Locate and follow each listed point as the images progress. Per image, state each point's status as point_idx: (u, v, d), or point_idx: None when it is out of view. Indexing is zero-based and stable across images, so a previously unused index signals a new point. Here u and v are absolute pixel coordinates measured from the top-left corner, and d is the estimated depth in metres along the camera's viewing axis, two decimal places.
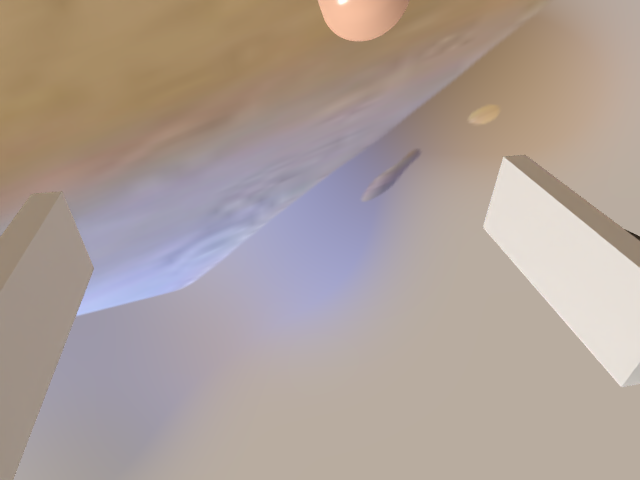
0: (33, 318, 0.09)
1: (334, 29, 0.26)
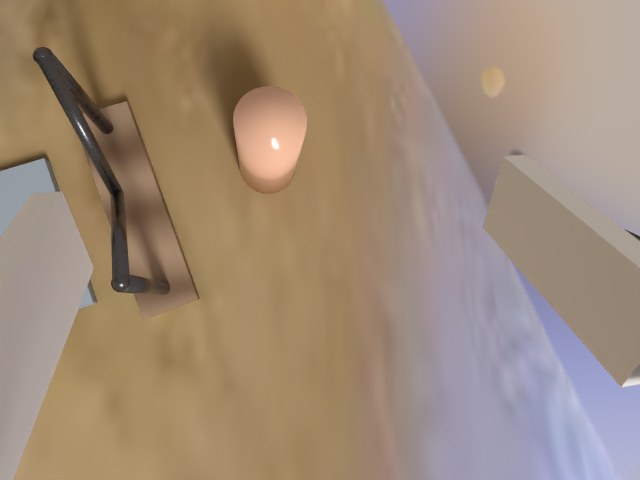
0: (33, 318, 0.09)
1: (284, 151, 0.31)
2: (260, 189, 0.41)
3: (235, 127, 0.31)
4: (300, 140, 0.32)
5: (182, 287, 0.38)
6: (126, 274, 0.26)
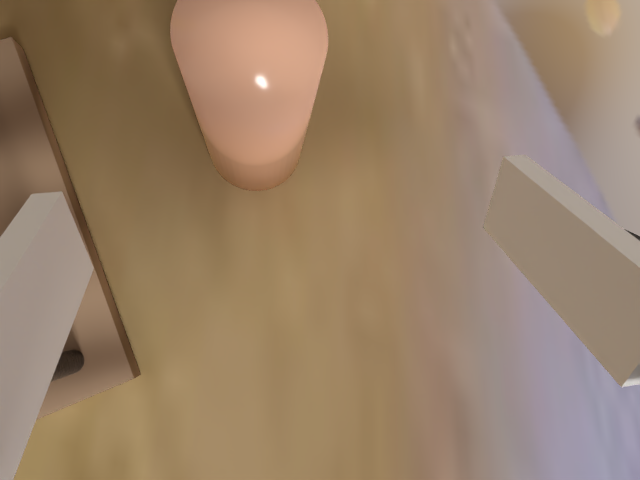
0: (33, 318, 0.09)
1: (282, 96, 0.15)
2: (243, 183, 0.24)
3: (175, 46, 0.14)
4: (315, 74, 0.15)
5: (106, 358, 0.22)
6: None
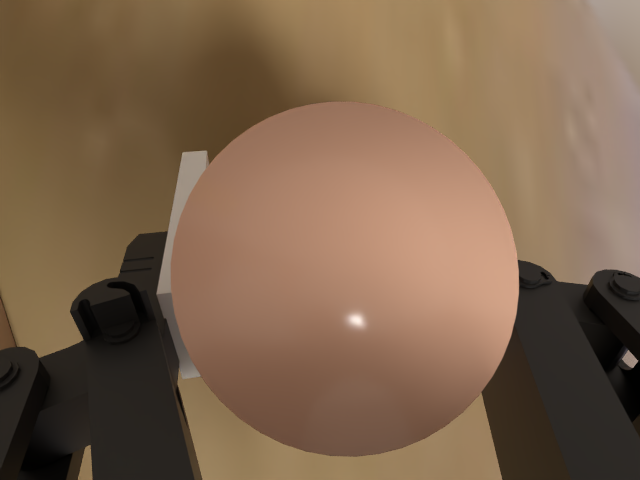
0: None
1: (428, 421, 0.06)
2: None
3: (182, 313, 0.06)
4: (496, 356, 0.07)
5: None
6: None
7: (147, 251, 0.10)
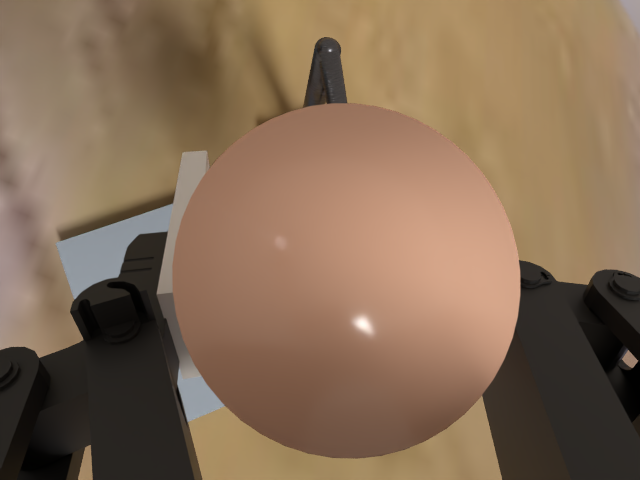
0: None
1: (430, 422, 0.06)
2: None
3: (184, 315, 0.06)
4: (497, 357, 0.07)
5: None
6: None
7: (147, 251, 0.10)
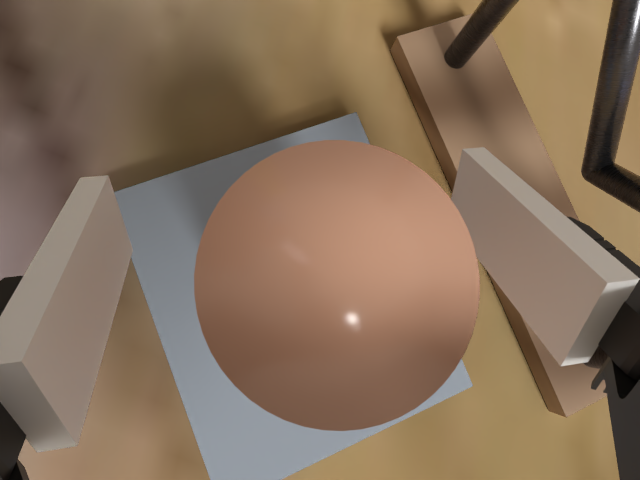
0: (91, 289, 0.10)
1: (402, 403, 0.08)
2: None
3: (203, 314, 0.08)
4: (459, 351, 0.08)
5: None
6: None
7: (5, 300, 0.09)
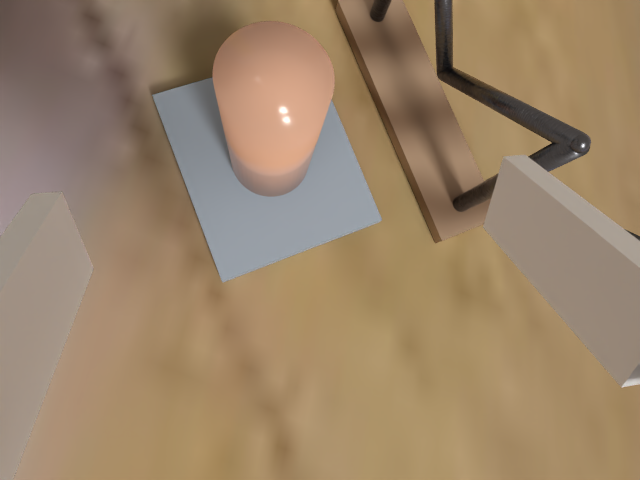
0: (33, 318, 0.09)
1: (298, 126, 0.19)
2: (260, 190, 0.28)
3: (216, 86, 0.19)
4: (324, 109, 0.19)
5: (481, 203, 0.31)
6: None
7: None
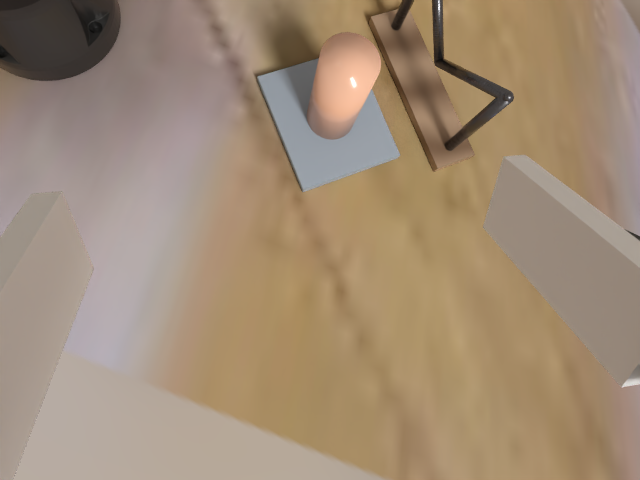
0: (33, 318, 0.09)
1: (362, 86, 0.37)
2: (326, 134, 0.46)
3: (321, 65, 0.36)
4: (375, 77, 0.37)
5: (463, 145, 0.49)
6: None
7: None
